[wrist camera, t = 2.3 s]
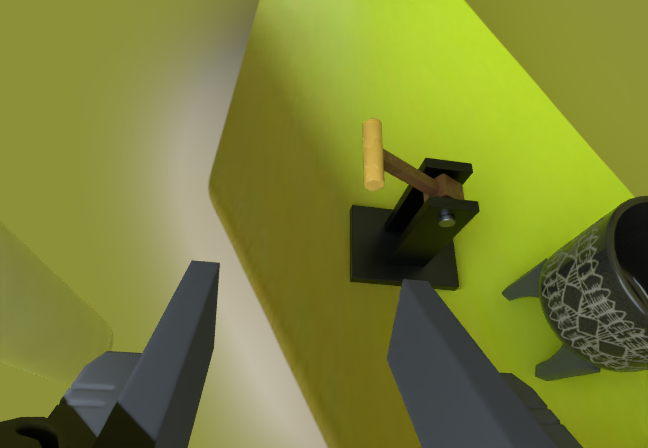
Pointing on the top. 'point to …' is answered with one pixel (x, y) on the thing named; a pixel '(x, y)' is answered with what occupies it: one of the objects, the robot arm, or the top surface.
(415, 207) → the bracket
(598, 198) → the top surface
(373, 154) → the lever
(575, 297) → the planter
